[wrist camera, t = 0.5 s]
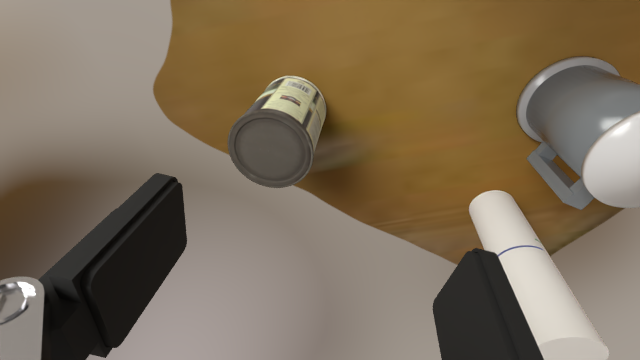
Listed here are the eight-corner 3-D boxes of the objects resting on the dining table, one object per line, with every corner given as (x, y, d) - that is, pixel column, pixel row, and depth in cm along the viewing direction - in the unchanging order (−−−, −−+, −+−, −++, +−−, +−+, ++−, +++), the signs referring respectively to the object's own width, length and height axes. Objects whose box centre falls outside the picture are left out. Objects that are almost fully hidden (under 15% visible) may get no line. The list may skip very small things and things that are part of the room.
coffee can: (268, 140, 52) (239, 188, 40) (255, 77, 46) (216, 113, 35) (329, 138, 50) (317, 188, 38) (323, 73, 44) (307, 108, 33)
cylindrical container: (482, 185, 51) (557, 330, 30) (523, 197, 51) (627, 348, 30) (461, 216, 55) (515, 363, 34) (499, 227, 55) (576, 379, 34)
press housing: (560, 41, 38) (663, 78, 25) (639, 77, 39) (779, 132, 26) (488, 133, 46) (536, 200, 32) (555, 162, 47) (630, 239, 33)
